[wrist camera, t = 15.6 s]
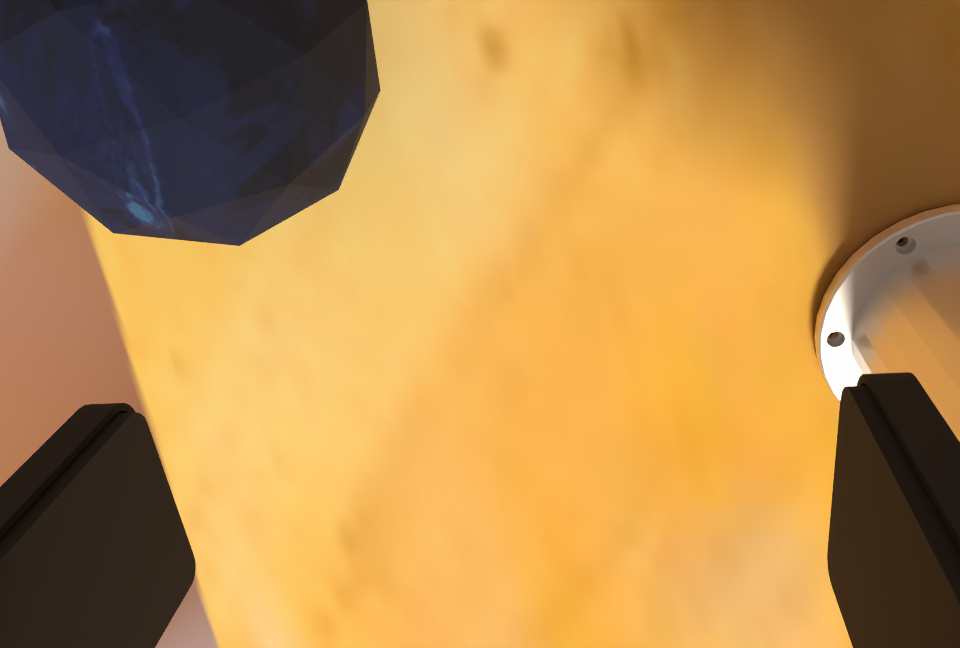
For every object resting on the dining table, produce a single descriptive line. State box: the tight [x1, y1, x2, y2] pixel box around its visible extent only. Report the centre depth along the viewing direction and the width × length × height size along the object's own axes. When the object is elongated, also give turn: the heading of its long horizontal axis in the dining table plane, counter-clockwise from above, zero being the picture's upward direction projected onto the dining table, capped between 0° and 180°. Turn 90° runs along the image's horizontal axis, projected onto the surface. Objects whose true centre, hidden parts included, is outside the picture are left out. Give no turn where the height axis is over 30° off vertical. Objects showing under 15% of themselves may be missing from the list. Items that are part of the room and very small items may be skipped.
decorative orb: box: [0, 0, 380, 246], centre depth 33 cm, size 14×15×15 cm
